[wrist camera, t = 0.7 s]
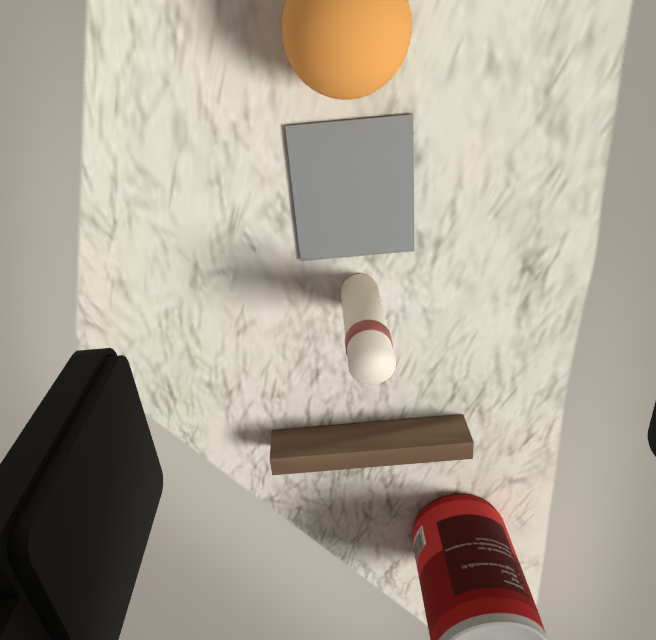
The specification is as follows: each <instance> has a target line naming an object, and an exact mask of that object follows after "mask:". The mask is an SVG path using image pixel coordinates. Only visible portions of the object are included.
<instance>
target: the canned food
mask: <svg viewBox="0 0 656 640" xmlns="http://www.w3.org/2000/svg"><path fill="white" fill-rule="evenodd" d="M412 542H413V548H414V553H415V559H416V564H417V569H418V575H419V580H420V586H421V591H422V596H423V602H424V607H425V612H426V618H427V623H428V629H429V634H430V639H431V640H548V639H547V636H546V633H545V630H544V628H543V625H542V622H541V619H540V616H539V613H538V610H537V608H536V605H535V603H534V600H533V597H532V595H531V592H530V589H529V587H528V584H527V582H526V579H525V576H524V574H523V571H522V568H521V566H520V563H519V561H518V558H517V555H516V553H515V550H514V547H513V545H512V542H511V540H510V537H509V534H508V532H507V529H506V526H505V524H504V521H503V519H502V517H501V516H500V514H499V513H498V512H497V510H496V509H495V508H494V507H493V506H492V505H491V504H490V503H489V502H487V501H486V500H484V499H482V498H479V497H476V496H472V495H466V494H457V495H450V496H446V497H442V498H439V499H437V500H435V501H433V502H431V503H430V504H428V505H427V506H426V507H425V508H423V509H422V510H421V511H420V513H419V514H418V516H417V517H416V519H415V522H414V526H413V532H412Z"/></svg>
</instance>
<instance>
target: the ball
mask: <svg viewBox="0 0 656 640" xmlns="http://www.w3.org/2000/svg"><path fill="white" fill-rule="evenodd" d="M281 27H282V39H283V45H284V49H285V52H286V55H287V58H288V60H289V62H290V64H291V66H292V68H293V69H294V71H295V72H296V74H297V75H298V76H299V78H300V79H301V80H302V81H303V82H304V83H305V84H306V85H308V86H309V87H310V88H311V89H313V90H314V91H316V92H318V93H320V94H322V95H324V96H327V97H330V98H334V99H342V100H347V99H357V98H361V97H364V96H367V95H369V94H372V93H374V92H375V91H377V90H379V89H380V88H382V87H383V86H384V85H385V84H387V83H388V82H389V81H390V80H391V79H392V78H393V76H394V75H395V74H396V72H397V71H398V70H399V68H400V67H401V65H402V63H403V61H404V59H405V57H406V54H407V51H408V48H409V45H410V39H411V32H412V19H411V11H410V6H409V2H408V0H286V2H285V6H284V10H283V15H282V26H281Z"/></svg>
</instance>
